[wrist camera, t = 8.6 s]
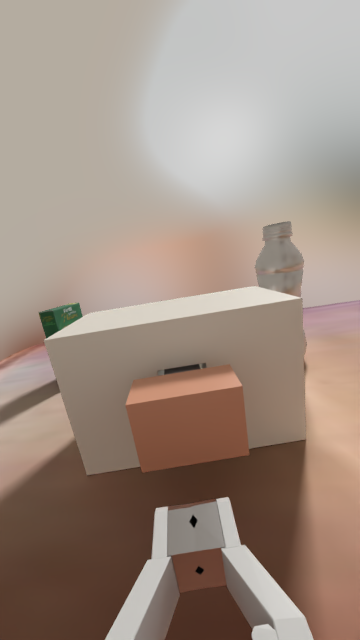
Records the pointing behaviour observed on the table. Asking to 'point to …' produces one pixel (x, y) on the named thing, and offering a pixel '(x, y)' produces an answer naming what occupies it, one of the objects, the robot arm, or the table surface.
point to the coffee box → (59, 318)
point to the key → (187, 417)
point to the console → (176, 351)
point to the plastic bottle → (280, 263)
